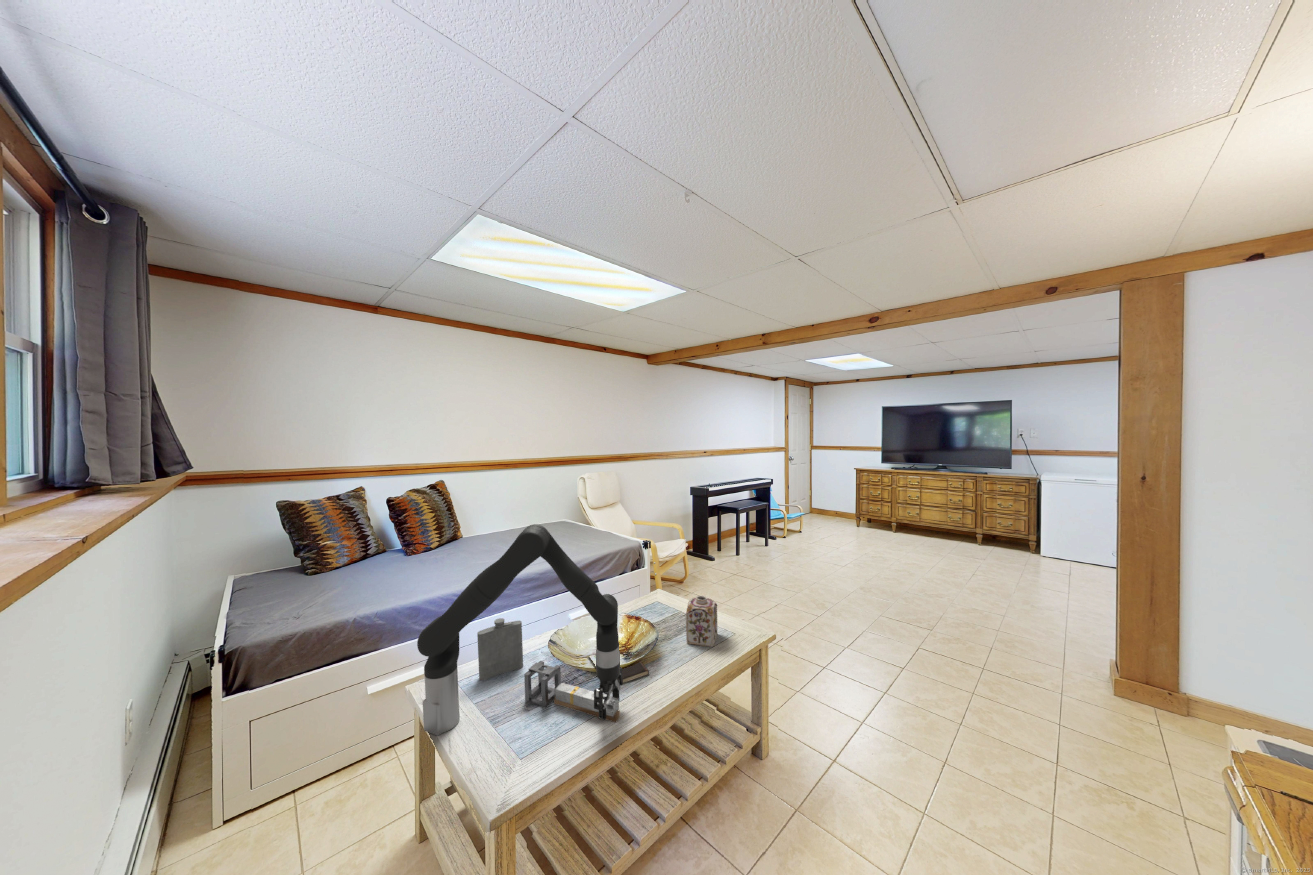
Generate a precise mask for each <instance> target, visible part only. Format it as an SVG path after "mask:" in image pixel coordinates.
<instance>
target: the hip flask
mask: <svg viewBox="0 0 1313 875" xmlns="http://www.w3.org/2000/svg"><path fill="white" fill-rule="evenodd" d="M493 623H494V625H493V626H490V627H487V628H485V629H481V630H479V631H477V633H476V634H477V635H476V637H477V658H478V677H479V678H478V679H479V681H481V682H484V681H487V680H489V679H492V678H494V677H496V676H499V675H501V674H505V673H508V672H512V671H517V670H520V669H522V668H523V667H524V651H523V650H524V649H523V646H524V645H523V627H522V626H523V624H522V623H523V622H522V620H515V621H508V622H505V618H501V617H499V618H497V619H495V620H494V622H493Z"/></svg>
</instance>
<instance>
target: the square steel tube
mask: <svg viewBox="0 0 1313 875" xmlns="http://www.w3.org/2000/svg"><path fill="white" fill-rule="evenodd" d="M554 689H555V688H554ZM555 696H556V700H559V701H562V702H566V703H569V704H571V705H576V706H579V707H582V708H586V709H589V710H592V711H595V712H599V710H597V709H594V690H589V689H586V688H583V687H580V686H575V685H571V684H567V683H565V682H561V684H560V685H559V686H558V687H557V688H556V689H555ZM603 696H604V697H606V696H607V695H606V694H603ZM603 703H604V699H603ZM597 704H598V702H597ZM617 711H620V698H619V699H618V698H615V697H613V696H612V695H610V698H609V700H608V701H607V704H606V715H609V716H612V717H614V715H615V714H616V713H617Z"/></svg>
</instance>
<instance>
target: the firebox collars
mask: <svg viewBox="0 0 1313 875" xmlns="http://www.w3.org/2000/svg"><path fill="white" fill-rule="evenodd" d="M561 670H562V669H561V665H558V664H555V666H550V665H548V664H545V661H544V660H540V661H539V662H535V663H534V664H532V666H530V667H529V668H528V670H527V671H526V672H525V673H524V678H523V679H524V681H523V682H524V701H525V703H528V704H532V705H535V706H538V707H541V708H544V709H547V708H548V707H549V706H550V705H551V704H552V703H554V697H555V689H556V688H557V687H558V686H559V685H560V684H561V683H562V679H561V678H562V676H561V675H562V674H561ZM535 674H538V679H537V680H538V683H537V684H536V686H534V688H532V677H533V676H534V675H535ZM553 677H554V688H553V687H549V681H550V680H551V679H552V678H553ZM540 693H541V700H538V699H535V698H536V697H537V696H539V694H540Z"/></svg>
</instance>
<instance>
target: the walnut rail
mask: <svg viewBox="0 0 1313 875" xmlns="http://www.w3.org/2000/svg"><path fill="white" fill-rule="evenodd" d="M553 703H554V705H557V706H559V707H561V706H562V707H564V708H566V709H567V708H568V709H570V710H575V711H577V712H581V713H583V714H587V715H591V716H593V717H597V718H599V712H595V711H592V710H589V709H586V708H582V707H579V706H576V705H571V704H569V703H566V702H562V701H559V700H556V696H555V697H554V701H553ZM620 716H621V715H620V710H618V711H617V713H616V714H615V715H614V717H612V716H609V715H606V719H605V720H606V721H610V722H613V723H617V721H619V719H620Z"/></svg>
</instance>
